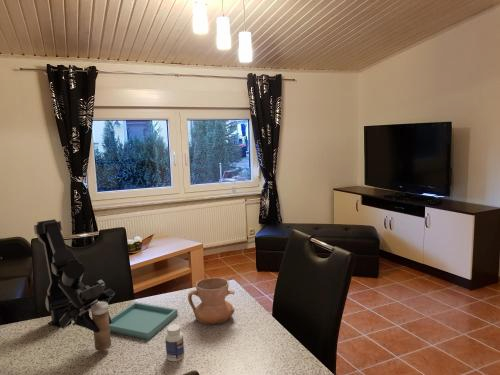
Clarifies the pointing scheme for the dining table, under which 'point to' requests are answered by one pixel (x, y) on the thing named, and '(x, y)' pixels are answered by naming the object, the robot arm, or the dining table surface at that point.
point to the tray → (142, 320)
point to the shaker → (101, 325)
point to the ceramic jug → (212, 301)
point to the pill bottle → (174, 343)
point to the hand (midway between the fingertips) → (104, 327)
